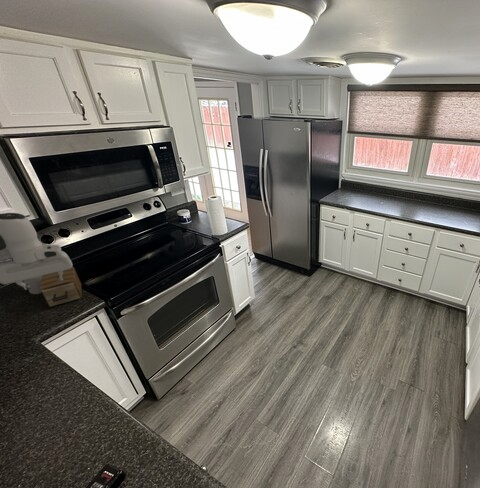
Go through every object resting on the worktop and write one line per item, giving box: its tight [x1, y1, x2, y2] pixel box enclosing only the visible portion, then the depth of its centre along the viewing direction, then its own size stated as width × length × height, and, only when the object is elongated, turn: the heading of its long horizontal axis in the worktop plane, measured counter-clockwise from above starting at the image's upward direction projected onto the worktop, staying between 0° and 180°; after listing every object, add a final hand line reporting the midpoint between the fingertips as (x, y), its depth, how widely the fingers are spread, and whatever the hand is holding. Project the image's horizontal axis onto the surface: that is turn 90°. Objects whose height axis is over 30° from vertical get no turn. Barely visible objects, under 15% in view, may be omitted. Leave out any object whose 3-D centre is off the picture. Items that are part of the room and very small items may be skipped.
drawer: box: [42, 282, 80, 308], centre depth 128 cm, size 19×11×9 cm, turn 40°
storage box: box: [40, 266, 83, 307], centre depth 132 cm, size 15×12×11 cm
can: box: [22, 276, 43, 295], centre depth 134 cm, size 8×8×12 cm
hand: (44, 284), depth 106 cm, fingers open, 8 cm apart
